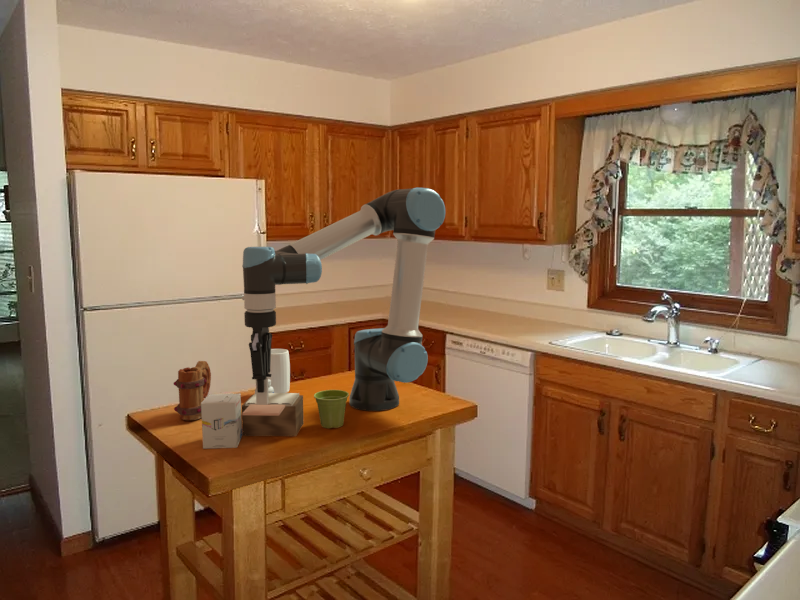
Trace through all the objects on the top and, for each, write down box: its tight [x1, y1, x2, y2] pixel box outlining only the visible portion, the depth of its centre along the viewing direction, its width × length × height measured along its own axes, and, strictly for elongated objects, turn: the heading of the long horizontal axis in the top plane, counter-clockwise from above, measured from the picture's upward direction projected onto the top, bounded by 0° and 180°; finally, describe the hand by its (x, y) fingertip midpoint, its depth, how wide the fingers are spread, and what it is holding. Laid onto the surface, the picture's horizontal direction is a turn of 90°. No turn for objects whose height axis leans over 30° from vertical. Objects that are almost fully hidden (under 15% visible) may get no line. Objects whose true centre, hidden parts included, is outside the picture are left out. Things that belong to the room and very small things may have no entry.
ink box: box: [201, 392, 243, 450], centre depth 154 cm, size 9×8×12 cm
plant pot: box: [313, 389, 350, 429], centre depth 167 cm, size 9×9×9 cm
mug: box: [173, 360, 212, 421], centre depth 176 cm, size 15×8×15 cm, turn 168°
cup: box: [267, 348, 291, 393], centre depth 197 cm, size 8×8×14 cm
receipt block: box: [241, 392, 305, 437], centre depth 164 cm, size 14×10×9 cm
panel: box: [241, 404, 285, 416], centre depth 154 cm, size 9×7×1 cm
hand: (262, 403), depth 153 cm, fingers closed
